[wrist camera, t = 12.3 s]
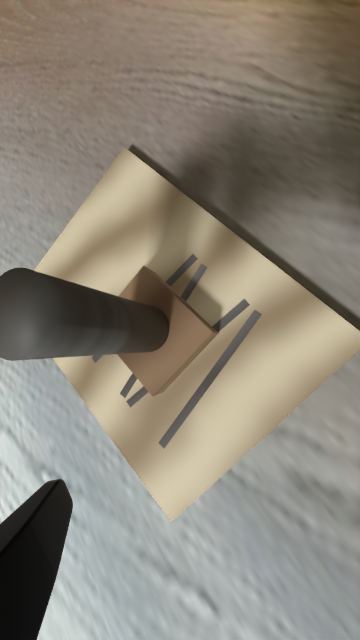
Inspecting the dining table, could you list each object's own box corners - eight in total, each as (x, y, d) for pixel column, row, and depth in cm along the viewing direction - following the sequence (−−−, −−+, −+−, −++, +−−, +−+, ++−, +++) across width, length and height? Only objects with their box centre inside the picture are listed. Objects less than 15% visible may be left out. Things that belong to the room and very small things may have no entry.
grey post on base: (219, 333, 19) (132, 317, 7) (164, 391, 20) (15, 454, 8) (155, 272, 21) (13, 188, 10) (109, 327, 22) (-68, 310, 11)
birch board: (365, 340, 16) (370, 339, 16) (176, 513, 20) (171, 522, 19) (130, 154, 24) (124, 147, 23) (20, 302, 27) (11, 301, 26)
